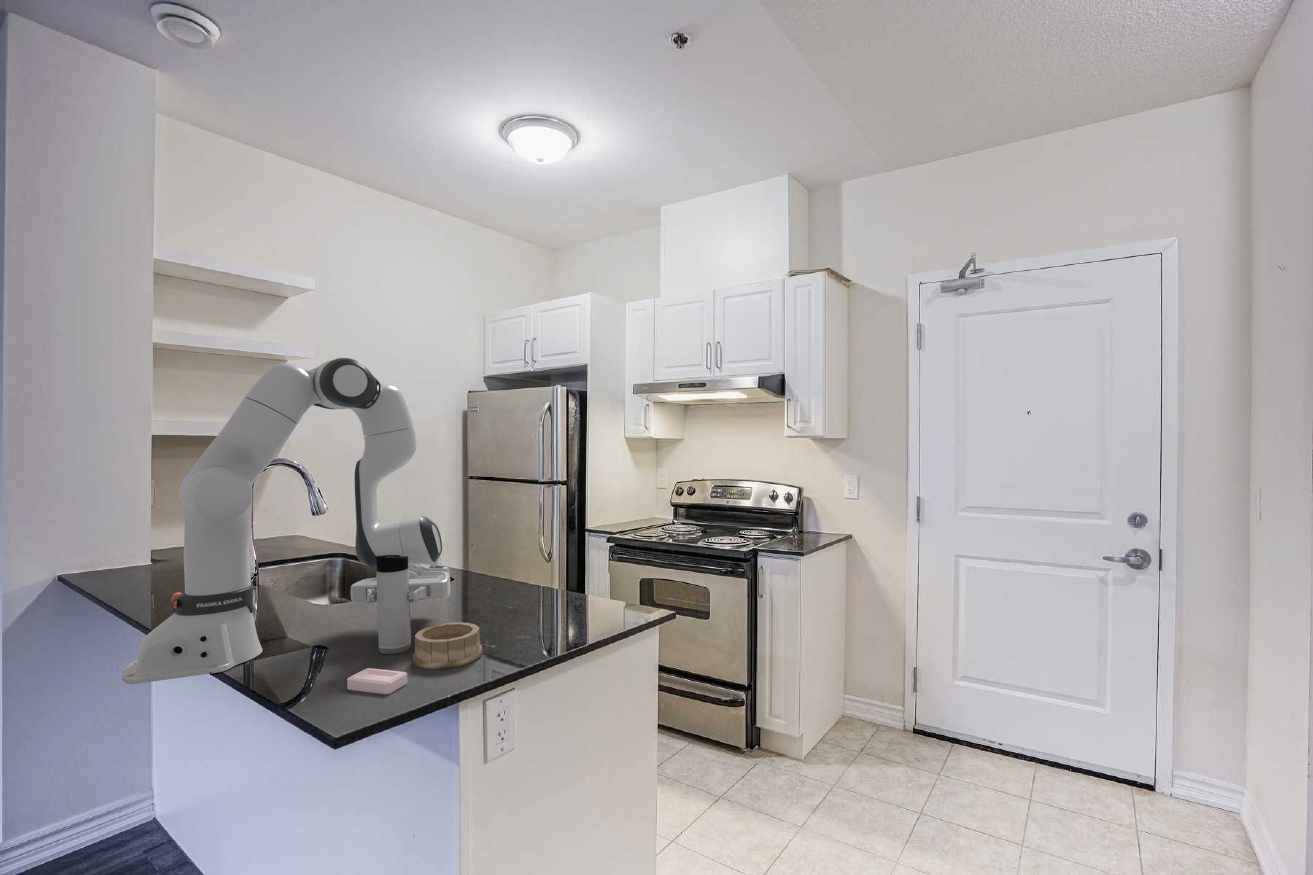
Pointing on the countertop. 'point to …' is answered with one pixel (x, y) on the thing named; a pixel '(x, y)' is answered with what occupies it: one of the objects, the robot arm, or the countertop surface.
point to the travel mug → (393, 604)
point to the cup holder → (447, 645)
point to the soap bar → (377, 681)
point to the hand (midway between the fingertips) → (391, 597)
